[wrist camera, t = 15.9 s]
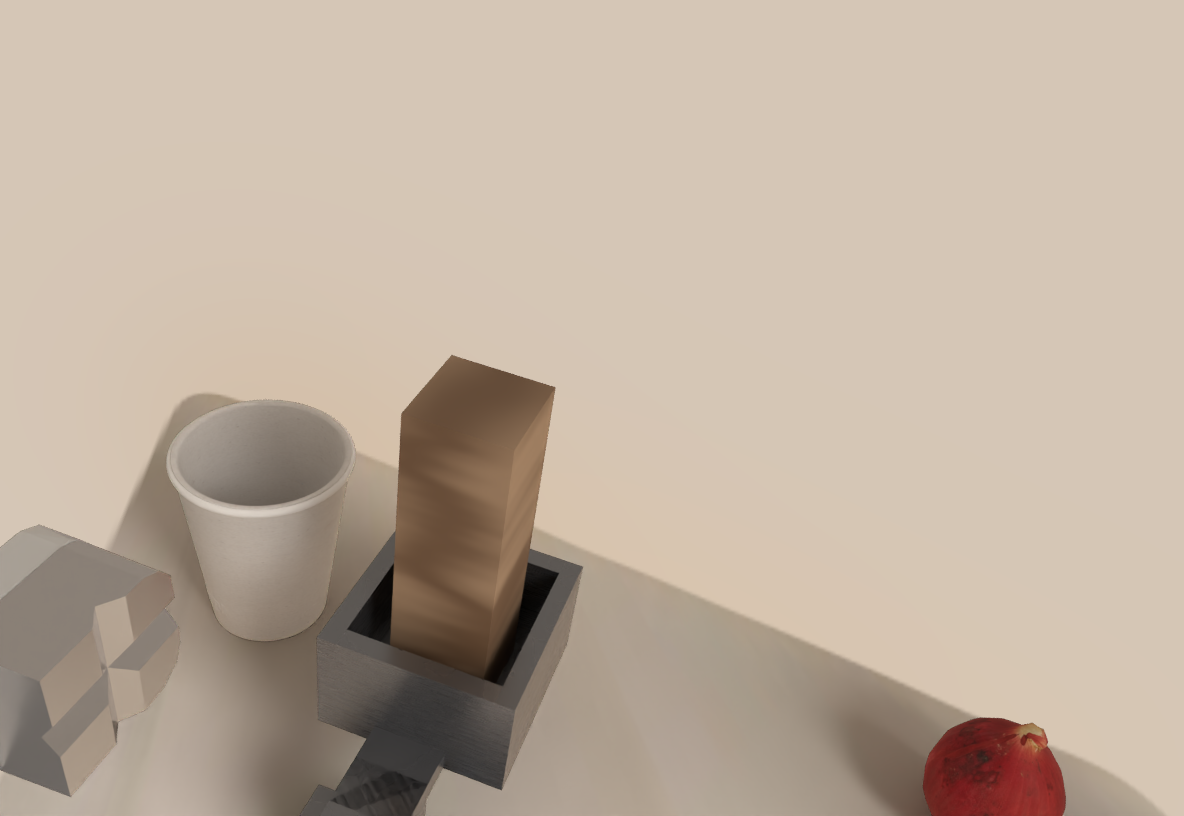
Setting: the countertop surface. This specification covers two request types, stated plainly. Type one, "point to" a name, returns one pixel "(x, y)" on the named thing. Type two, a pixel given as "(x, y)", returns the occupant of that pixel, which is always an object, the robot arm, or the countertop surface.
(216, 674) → the countertop surface
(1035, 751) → the onion
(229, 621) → the dixie cup
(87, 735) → the robot arm
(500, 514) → the rail post
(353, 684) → the box
